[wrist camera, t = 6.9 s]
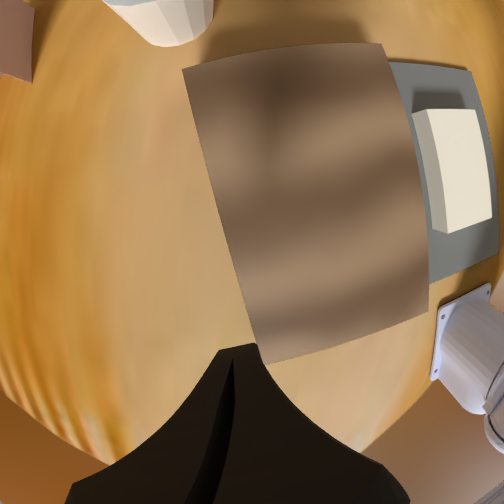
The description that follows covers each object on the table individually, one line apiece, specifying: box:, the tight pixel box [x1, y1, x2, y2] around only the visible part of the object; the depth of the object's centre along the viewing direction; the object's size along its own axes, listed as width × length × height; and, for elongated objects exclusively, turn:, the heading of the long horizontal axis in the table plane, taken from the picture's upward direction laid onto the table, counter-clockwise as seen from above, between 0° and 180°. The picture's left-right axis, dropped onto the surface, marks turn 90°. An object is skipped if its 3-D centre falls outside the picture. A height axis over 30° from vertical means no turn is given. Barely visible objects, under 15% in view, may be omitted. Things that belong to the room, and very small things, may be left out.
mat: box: [389, 62, 499, 284], centre depth 17 cm, size 18×12×1 cm
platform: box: [182, 43, 429, 365], centre depth 16 cm, size 18×12×4 cm, turn 14°
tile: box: [412, 109, 492, 234], centre depth 16 cm, size 9×6×2 cm, turn 15°
